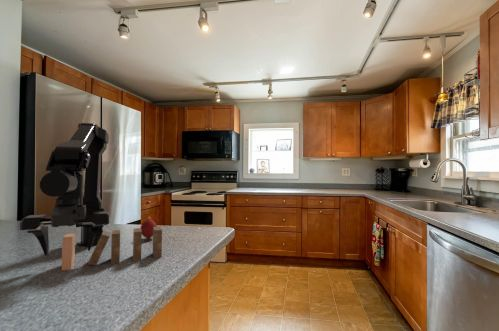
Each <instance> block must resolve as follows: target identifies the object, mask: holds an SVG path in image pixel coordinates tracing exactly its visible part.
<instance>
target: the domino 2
mask: <svg viewBox="0 0 499 331" xmlns="http://www.w3.org/2000/svg"><path fill="white" fill-rule="evenodd" d="M110 243H111V250H110V251H111V252H110V254H111V255H110V257H111V258H110V264H111V265H114V264H120V260H121V259H120V258H121V256H120V255H121V229H113V230H112V231H111V242H110Z"/></svg>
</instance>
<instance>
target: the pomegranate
mask: <svg viewBox="0 0 499 331" xmlns="http://www.w3.org/2000/svg"><path fill="white" fill-rule="evenodd" d="M153 227H158V226H157V223H156V222H155V221H154V220H153V219H152V217H151V216H148V217H147V219H146V220H144V221H143V222H142V223H141V225H140V228H141V231H142V236H143V237H144V238H145V239H148V240H150V239H151V238H153Z"/></svg>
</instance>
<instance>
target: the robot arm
mask: <svg viewBox="0 0 499 331" xmlns="http://www.w3.org/2000/svg"><path fill="white" fill-rule="evenodd" d="M109 142H110V137H109V133H108V131H107V130H106V129H104V128H102V127H100V126H99V125H98V124H96V123H93V122H91V123H90V122H81V123H80V122H79V123H78V125H77V129H76V130H75V131H74V133H73V134H72V136H71V137H70V139H69V140H68V141H64V142H60V143H59V144H58V145H56V146H55V147H54V149H53V150H52V151H51V153H50V156H49V160H48V162H47V165H46V166H45V171H46V172H48V173H45V174H44V175H43V176H42V177H41V180H40V181H39V188H40V191H41V192H42V194H45V195H46V196H49V197H51V198H52V197H54V198H55V197H56V198H55V205H54V207H53V209H52V211H51V213H50V216H49V217H48V216H47V214H29V215H27V216H25V217H23V218H22V219H21V220H20V222H19V223H20V224H19V230H20V231H26V232H27V234H32V235H34V237H36V239H37V241H38V242H39V245H40V247H41V249H42V252H43V254H44V256H45V257H46V256H48V255H49V251H50V244H49V243H50V242H49V240H50V239H49V226H51V227H52V228H59V227H72V226H75V228H80V241H78V242H75V245H76V246H77V245H78V246H84V247H85V246H86V247H87V252H90V251H91V249H92V246H96V245H97V243H98V241H99V239H100V237H101V235H102V232H103V231H104V229H103V228H104V227H105V226H108V224H110V222H111V213H110V212H109V211H108V210H107V211H106V208H105V203H104V202H103V200H102V199H101V197H100V183H101V168H102V167H101V166H102V165H101V164H102V155H103V154H104V153H105V151H106V150H107V148H108V147H107V146H108V144H109ZM48 225H49V226H48Z"/></svg>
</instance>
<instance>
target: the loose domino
mask: <svg viewBox="0 0 499 331" xmlns="http://www.w3.org/2000/svg"><path fill="white" fill-rule="evenodd" d="M61 244H62V245H61V247H62V248H61V271H67V270H68V271H69V270H72V268H73V267H74V264H75V253H76V252H75V251H76V250H75V248H76V233H66V234H65V235H64V236H63V237H62V241H61Z"/></svg>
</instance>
